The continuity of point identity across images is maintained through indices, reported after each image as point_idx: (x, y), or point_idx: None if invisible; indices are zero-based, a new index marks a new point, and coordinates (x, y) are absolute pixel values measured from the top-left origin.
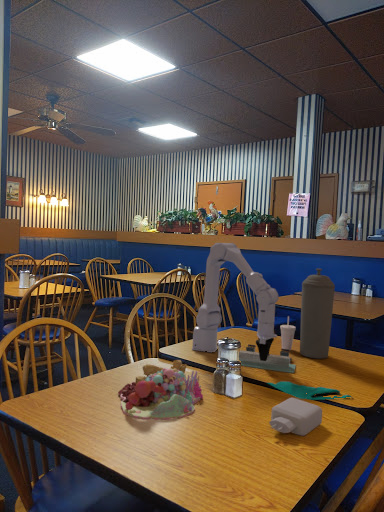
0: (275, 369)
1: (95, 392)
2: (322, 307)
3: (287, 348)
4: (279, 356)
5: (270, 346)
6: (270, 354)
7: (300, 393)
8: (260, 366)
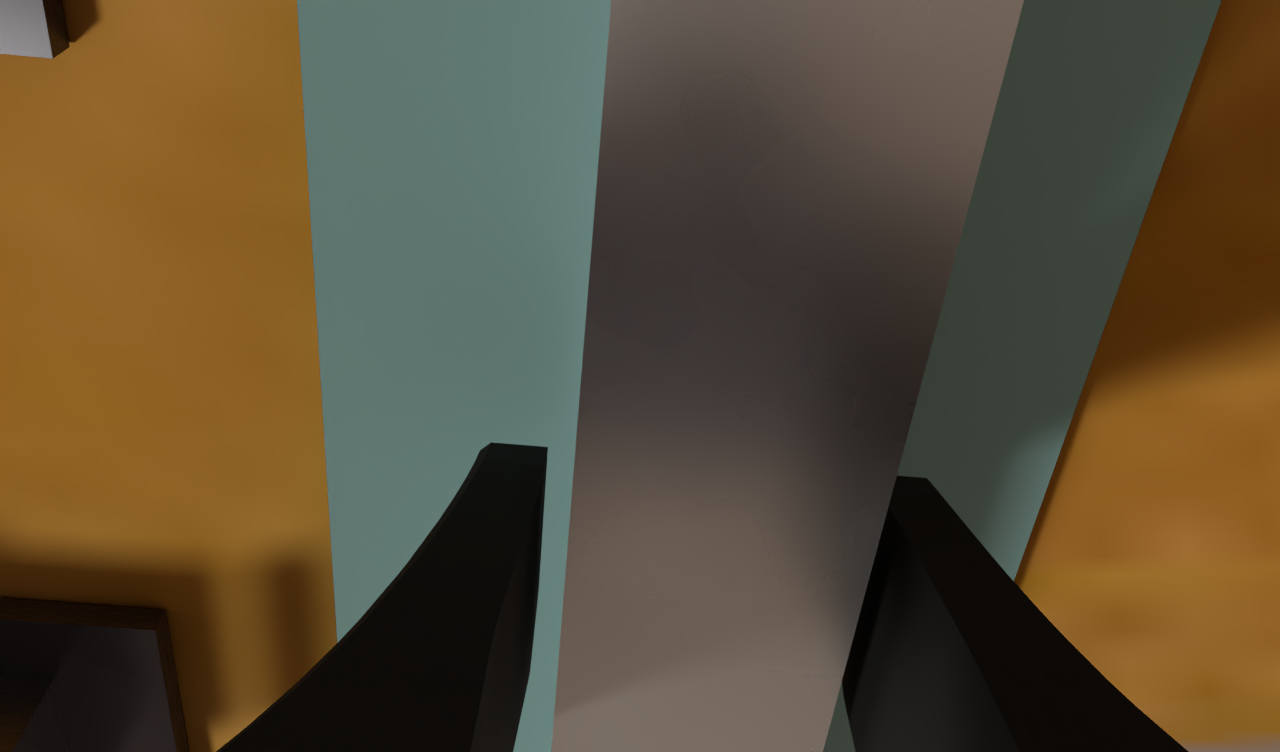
0: (1179, 97)
1: None
2: None
3: None
4: (787, 102)
5: (473, 721)
6: (617, 463)
7: None
8: (955, 500)
